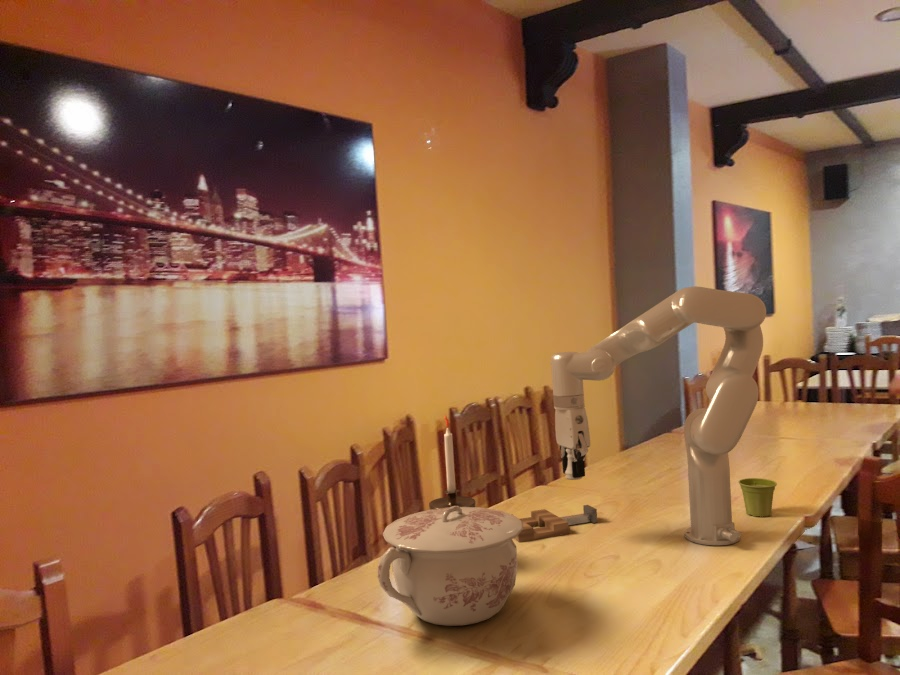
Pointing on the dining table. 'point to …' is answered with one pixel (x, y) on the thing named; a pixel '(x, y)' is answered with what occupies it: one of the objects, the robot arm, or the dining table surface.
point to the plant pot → (758, 495)
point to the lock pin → (582, 516)
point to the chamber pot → (452, 563)
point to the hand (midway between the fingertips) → (573, 474)
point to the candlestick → (450, 480)
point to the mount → (541, 518)
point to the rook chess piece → (570, 466)
